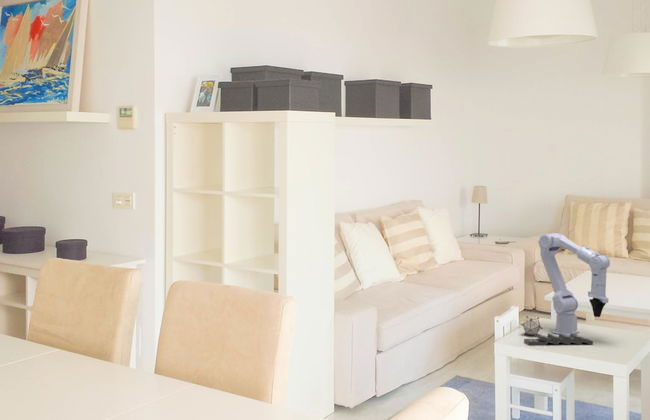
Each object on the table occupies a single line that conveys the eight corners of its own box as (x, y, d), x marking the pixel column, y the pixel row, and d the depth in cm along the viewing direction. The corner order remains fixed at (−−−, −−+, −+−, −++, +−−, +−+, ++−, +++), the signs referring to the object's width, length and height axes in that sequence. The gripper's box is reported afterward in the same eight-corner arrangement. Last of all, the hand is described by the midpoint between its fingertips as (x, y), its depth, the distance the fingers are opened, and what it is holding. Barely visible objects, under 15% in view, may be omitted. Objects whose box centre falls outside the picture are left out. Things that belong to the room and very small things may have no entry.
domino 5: (588, 338, 316) (570, 333, 316) (593, 341, 311) (575, 336, 311) (587, 341, 317) (569, 336, 316) (592, 344, 312) (574, 339, 311)
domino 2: (554, 338, 315) (536, 333, 314) (559, 341, 310) (541, 336, 309) (552, 341, 315) (535, 336, 314) (557, 345, 310) (540, 339, 309)
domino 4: (577, 338, 316) (559, 333, 315) (582, 341, 311) (564, 336, 310) (576, 341, 316) (558, 336, 315) (581, 345, 311) (563, 339, 310)
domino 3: (565, 338, 316) (548, 333, 315) (570, 341, 311) (552, 336, 310) (564, 341, 316) (547, 336, 315) (569, 345, 311) (551, 339, 310)
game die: (526, 343, 327) (516, 322, 332) (544, 336, 328) (534, 315, 332) (529, 337, 319) (518, 316, 324) (547, 330, 320) (537, 309, 324)
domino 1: (542, 338, 315) (524, 338, 314) (547, 341, 310) (528, 342, 309) (542, 342, 315) (524, 342, 314) (547, 345, 310) (528, 345, 309)
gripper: (581, 281, 322) (580, 312, 323) (597, 287, 308) (595, 320, 309) (597, 281, 323) (596, 312, 324) (613, 287, 309) (612, 320, 310)
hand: (597, 316), depth 317 cm, fingers closed
